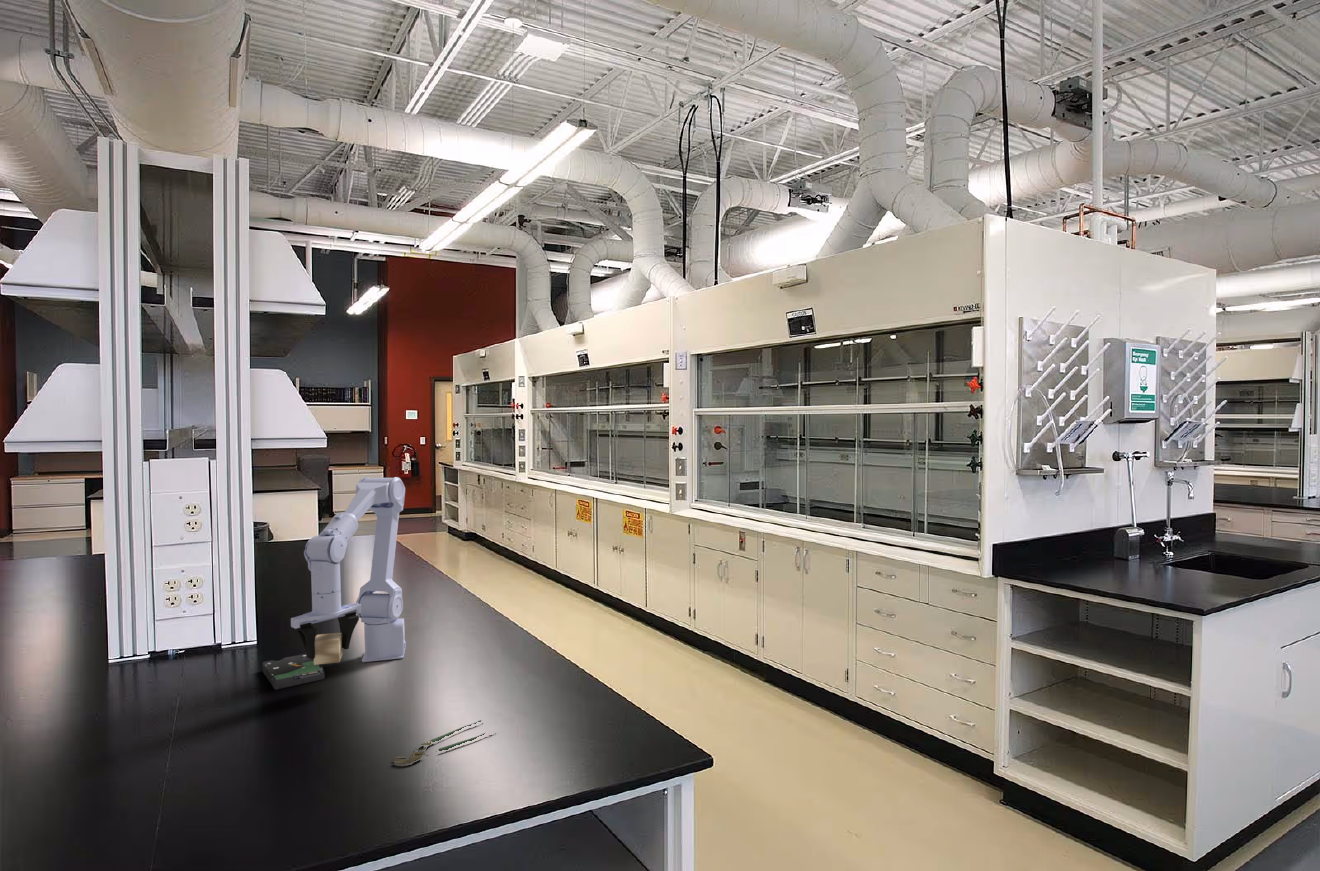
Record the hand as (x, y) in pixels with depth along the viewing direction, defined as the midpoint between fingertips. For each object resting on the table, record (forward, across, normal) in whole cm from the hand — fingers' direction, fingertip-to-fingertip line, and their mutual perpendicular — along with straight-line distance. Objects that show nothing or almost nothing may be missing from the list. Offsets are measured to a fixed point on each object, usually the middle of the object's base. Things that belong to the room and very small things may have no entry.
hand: (328, 652), depth 156 cm
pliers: (+8, 0, +42) cm, 43 cm away
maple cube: (+2, 0, 0) cm, 2 cm away
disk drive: (+9, +1, -15) cm, 18 cm away
